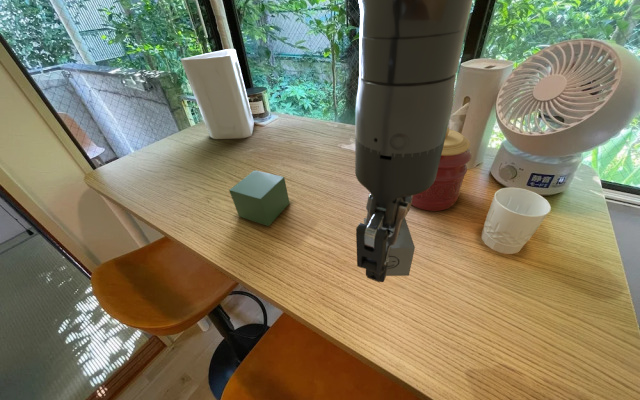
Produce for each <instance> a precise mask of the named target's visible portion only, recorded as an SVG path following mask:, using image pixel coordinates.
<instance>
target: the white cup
mask: <svg viewBox="0 0 640 400" xmlns="http://www.w3.org/2000/svg"><path fill="white" fill-rule="evenodd" d="M551 211H552V207H551V204H550V202H549V201H548V200H547V199H546V198H545V197H543V196H542V195H540V194H538V193H536V192H535V191H532V190H529V189H525V188H521V187H512V186H511V187H502V188H500V189H498V190H496V191H495V193H494V195H493V197H492V200H491V204H490V206H489V209H488V212H487V214H486V218H485V221H484V224H483V228H482V231H481V237H480V238H481V240H482V242H483V243H484V244H485V246H487V247H488V248H489V249H491V250H493V251H495V252H497V253H499V254H505V255H514V254H518V253H519V252H520V251H521V250H522V249H523V248H524V246H525V245H526V243H528V242H529V241H530V239H531V238H532V237H533V236H534V234H535V233H536V232H537V230H538V229H539V227H540V226H541V225H542V223H543V222H544V220H545V219H546V218H547V216H548V215H549V214H550V212H551Z"/></svg>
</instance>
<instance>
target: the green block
mask: <svg viewBox="0 0 640 400" xmlns="http://www.w3.org/2000/svg"><path fill="white" fill-rule="evenodd" d="M228 191H229V194H230V196H231V200H232V202H233V204H234V207H235V210H236V213H237V215H238V217H240V218H242V219H245V220H249V221H251V222H254V223H256V224H260V225H263V226H266V227H269V226H270V225H271V224H272V223H273V222H274V221H275V220H276V219H277V218H278V217H279V215H280V214H281V213H282V212H283V211H284V210H285V209H286V208H287V207H288V206H289V205H290V199H289V193H288V188H287V183H286V179H285V177H284V176H281V175H277V174H273V173H270V172H264V171H260V170H256V169H254V170H252V171H251V172H250V173H248V174H247V175H246V176H245V177H243V178H242V179H241V180H240V181H239V182H237V183H236V184H235V185H233V186H232V187H231V188H230V189H229V190H228Z"/></svg>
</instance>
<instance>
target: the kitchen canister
mask: <svg viewBox="0 0 640 400" xmlns="http://www.w3.org/2000/svg"><path fill="white" fill-rule="evenodd" d="M470 147H471V141H470V140H469V139H468V138H467V137H466V136H464V135H463V134H462V133H461V132H459V131H457V130H454V129H450V127H449V126H448V128H447V133H446V137H445V141H444V145H443V150H442V154H441V158H440V162H439V167H438V171H437V175H436V179H435V181H434V183H433V184H432V186H431V187H430V188H428V189H427V190H425V191H423V192H421V193H419V194H416V195H414V196H413V199H412V203H411V206H413V207H414V208H418V209H420V210H424V211H429V212H430V211H432V212H433V211H434V212H436V211H444V210H447V209H449V208H451V207H453V206H454V205H455V204H456V202H457V201H458V199H459V197H460V194H461V187H462V184H463V182H464V178H465V175H466V174H467V172H468V166H467V164H468V163H469V162H470V161H471V159H472V155H473V154H472V151H471V150H470Z"/></svg>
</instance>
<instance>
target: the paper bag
mask: <svg viewBox="0 0 640 400" xmlns="http://www.w3.org/2000/svg"><path fill="white" fill-rule="evenodd" d="M180 62H181V64H182V67H183V70H184V72H185V75H186V78H187V80H188V83H189V85H190V88H191V91H192V93H193V96H194V98H195V101H196V104H197V106H198V109H199V112H200V114H201V117H202V120H203V123H204V125H205V128H206V130H207V134H208V135H209V137H210V138H211V139H212V140H223V139H225V140H226V139H245V138H249V137H251V136H252V135H253V131H254V126H255V122H254V121H255V120H254V118H253V113H252V110H251V106H250V105H251V104H250V103H249V98H248V94H247V91H246V86H245V82H244V78H243V74H242V70H241V66H240V63H239V59H238V55H237V50H236V49H235V48H228V49H227V48H226V49H222V50H217V51H212V52H207V53H203V54H198V55H192V56H188V57H183V58H180Z"/></svg>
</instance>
